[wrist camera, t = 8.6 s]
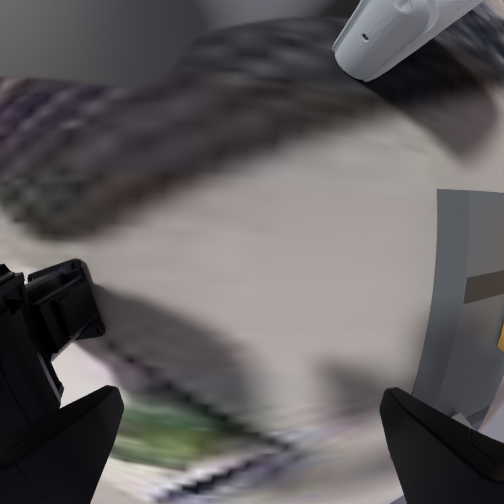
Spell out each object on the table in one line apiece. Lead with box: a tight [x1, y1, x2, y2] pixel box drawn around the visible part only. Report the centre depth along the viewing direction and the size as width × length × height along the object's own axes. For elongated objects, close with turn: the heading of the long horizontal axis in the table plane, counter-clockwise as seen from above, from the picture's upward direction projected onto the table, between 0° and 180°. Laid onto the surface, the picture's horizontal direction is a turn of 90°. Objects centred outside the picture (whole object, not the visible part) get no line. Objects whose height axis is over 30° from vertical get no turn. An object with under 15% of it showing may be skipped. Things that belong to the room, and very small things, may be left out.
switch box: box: [390, 189, 504, 461], centre depth 20 cm, size 10×30×4 cm, turn 4°
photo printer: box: [332, 0, 483, 82], centre depth 10 cm, size 10×4×12 cm, turn 134°
